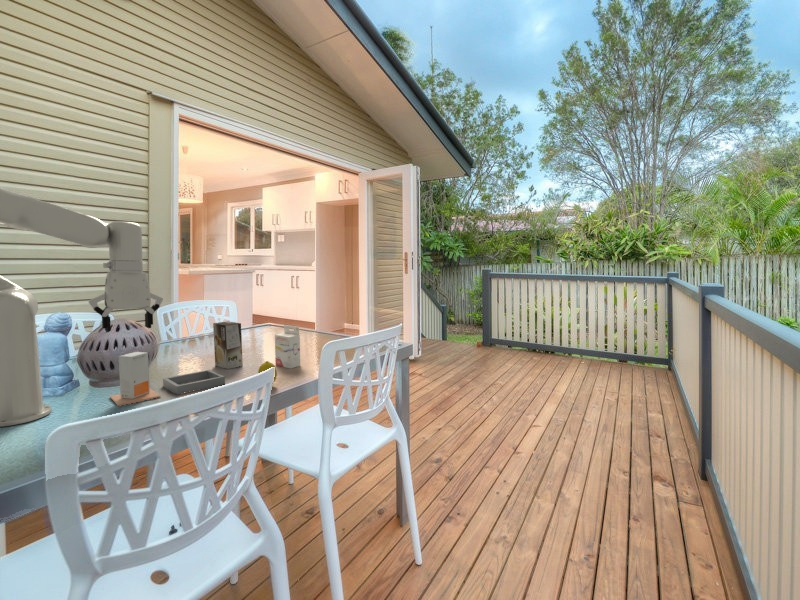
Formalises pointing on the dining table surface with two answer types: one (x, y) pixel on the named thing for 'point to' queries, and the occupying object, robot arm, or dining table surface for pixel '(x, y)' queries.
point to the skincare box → (134, 375)
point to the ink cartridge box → (288, 347)
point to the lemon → (267, 366)
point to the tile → (124, 401)
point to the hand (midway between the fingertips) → (128, 329)
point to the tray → (212, 381)
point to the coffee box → (228, 344)
